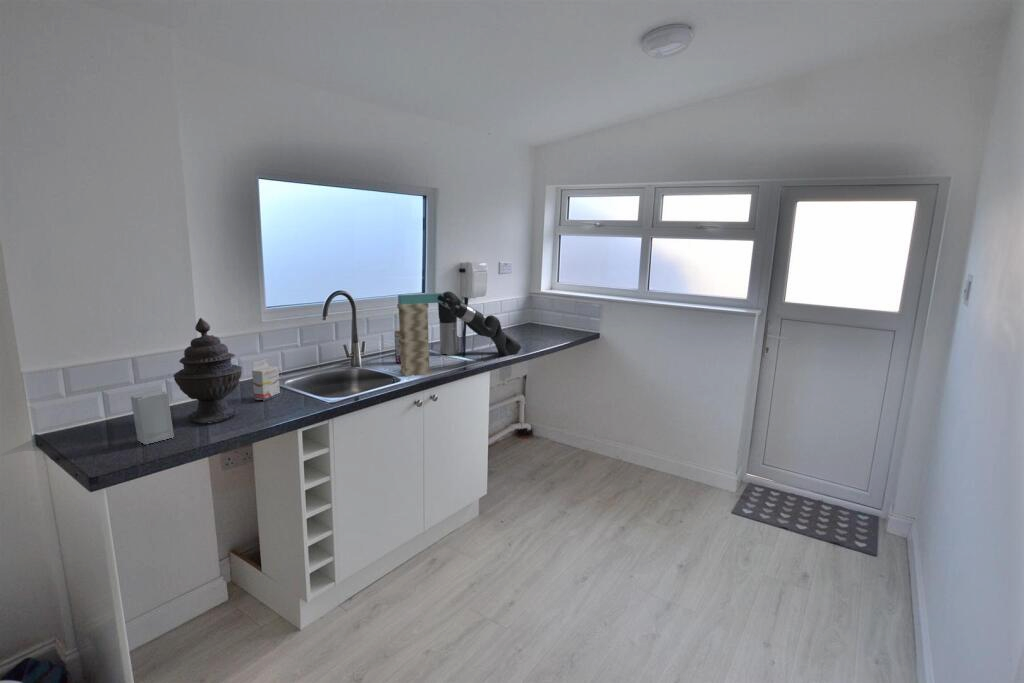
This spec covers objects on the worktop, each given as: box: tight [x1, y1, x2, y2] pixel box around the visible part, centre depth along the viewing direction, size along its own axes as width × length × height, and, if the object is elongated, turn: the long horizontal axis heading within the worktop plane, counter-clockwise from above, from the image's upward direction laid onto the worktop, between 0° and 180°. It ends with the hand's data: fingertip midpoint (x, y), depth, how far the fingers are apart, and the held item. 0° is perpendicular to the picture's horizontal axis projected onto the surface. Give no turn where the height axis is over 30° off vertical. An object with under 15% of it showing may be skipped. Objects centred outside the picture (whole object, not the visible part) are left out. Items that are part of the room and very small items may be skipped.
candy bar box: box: [394, 328, 401, 363], centre depth 266 cm, size 11×5×16 cm, turn 84°
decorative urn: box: [173, 317, 243, 424], centre depth 181 cm, size 20×20×35 cm
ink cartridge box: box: [251, 358, 281, 399], centre depth 205 cm, size 9×5×15 cm, turn 160°
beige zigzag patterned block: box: [396, 303, 432, 377], centre depth 242 cm, size 12×7×32 cm, turn 120°
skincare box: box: [130, 389, 175, 444], centre depth 161 cm, size 8×6×15 cm
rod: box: [397, 292, 444, 305], centre depth 241 cm, size 20×4×4 cm, turn 120°
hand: (434, 296), depth 244 cm, fingers open, 8 cm apart
